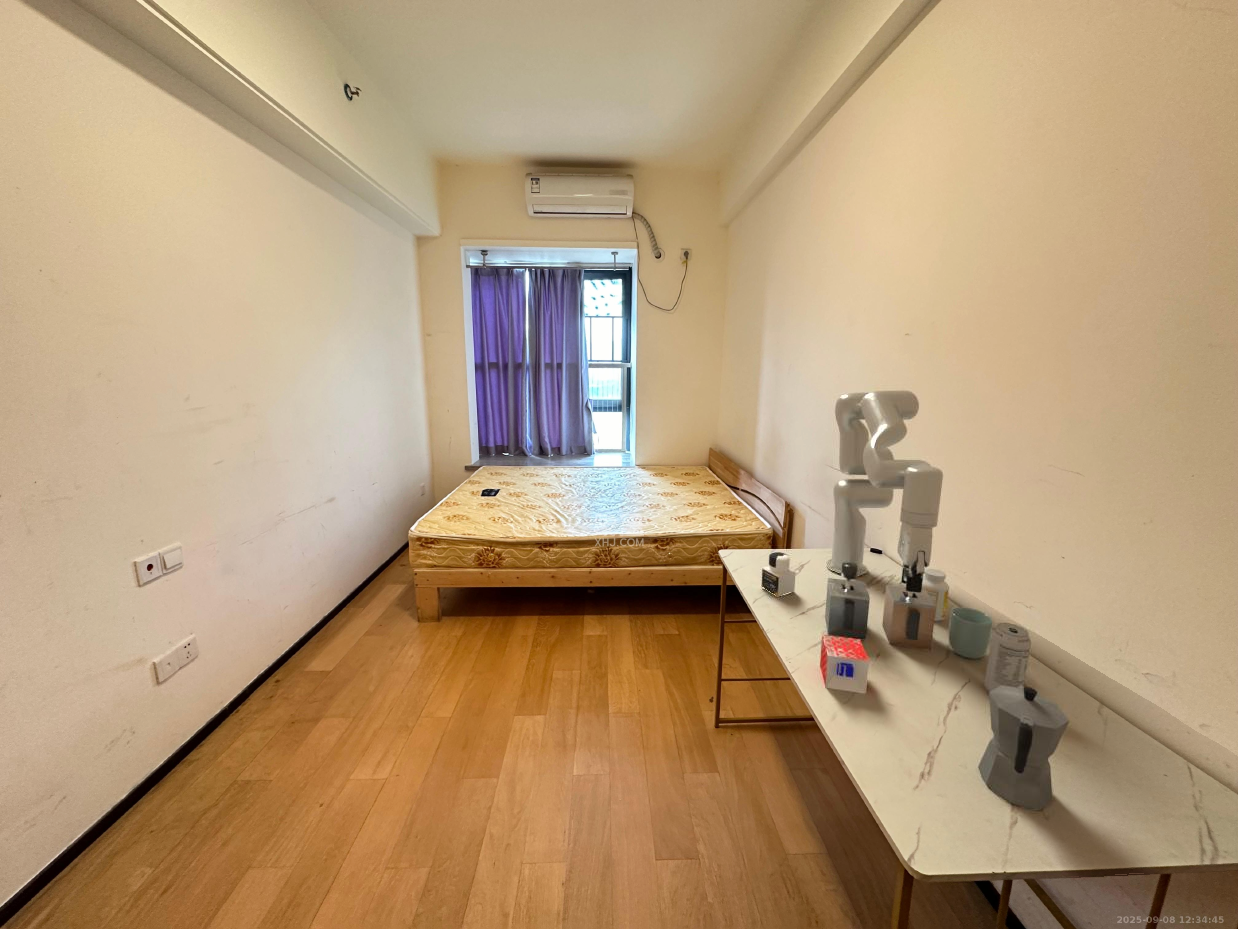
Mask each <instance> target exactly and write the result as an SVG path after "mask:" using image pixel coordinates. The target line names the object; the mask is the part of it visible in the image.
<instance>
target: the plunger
mask: <svg viewBox="0 0 1238 929" xmlns="http://www.w3.org/2000/svg"><path fill="white" fill-rule="evenodd" d="M857 568H858V566H857V565H856V564H854V563H850V562H844V563H842V570H841V574H840V575H841V577H842V578H844V579H845V580H846V589H847V590H850V582H851V581H852V580H856V579H857V578H858V576H857Z"/></svg>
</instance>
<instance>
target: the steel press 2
mask: <svg viewBox="0 0 1238 929" xmlns="http://www.w3.org/2000/svg"><path fill="white" fill-rule="evenodd" d="M935 612H936V605H935V603H934V602H933V600H932V599H931V597H930V596H929V594H928V592H927V591H926V589H922V590H921V593H918V592H913V595H912V598H911V597H908V591H906V586H898V585H891V584H889V585H888V584H886V585H885V597H884V606H883V614H882V623H881V624H882V625H881V626H882V629H883V631H884V634H885V636H886V639H887V641H888V644H889V645H892V646H893V645H894V646H898V647H905V648H911V649H919V650H923V651H924V650H925V651H931V650H932V644H933V643H932V642H933V635H934V626H935V621H934V620H935Z"/></svg>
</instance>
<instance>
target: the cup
mask: <svg viewBox="0 0 1238 929" xmlns="http://www.w3.org/2000/svg"><path fill="white" fill-rule="evenodd" d="M949 614H950V615H949V620H948V632H947V633H948V634H947V636H948V637H947V638H948V644H949V647H950V648H951V649H952V650H953V651H954V652H955V653H956V654H958V655H959V656H961V657H964V658H967V659H980V658H982V657H984V656H985V654H987V651H988V649H989V648H990V644H991V638H992V632H993V624H994V621H993V619H992V617H990V615H989V614H987V613H985V612H983V611H981V610H978V609H975V608H971V607H964V606H960V607H959V606H957V607H953V608H951V610H950V613H949Z"/></svg>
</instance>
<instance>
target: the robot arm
mask: <svg viewBox="0 0 1238 929" xmlns="http://www.w3.org/2000/svg"><path fill="white" fill-rule="evenodd" d="M834 407H835V408H834V414H835V420H836V424H837V427H838V431H839V449H838V450H839V456H838V457H839V458H838V460H839V461H838V463H839V464H838V465H839V469H840V471H841V472H842V473H843V474H845V475H850V476H867V479H864V478H846V479H841V480H839V481H837V482H836V483H835V484H834V486H833V501H834V523H833V538H832V539H833V540H832V551H831V552H832V553H831V559H828V560H827V561H826V564H827V566H828V567H829V568H830V569H832V570H834V571H835V572H838V573H841V570H842V563H844V562H850V563H854V564H856V565H857V566H858V568H857V577H859V576H858V575H862V576H864V575H863V574H865V573H866V574H867V573H868V567H867V566H866V565H865V564H864V556H865V555H864V554H865V553H864V552H865V541H866V532H867V520H866V518H865V516H864V514H863V513H862V512H861V511H860V509H885V508H889V507H890V505H891V504H892V502H893V499H894V490H902V498H901V508H900V517H899V522H900V523H901V524H900V530H899V538H898V544H897V554H898V556H899V558H900V559H901V561H902V562H903V563H902V570H901V571H902V572H901V583H902V584H905V587H906V591H909V592H918V593H921V590H922V582H923V578H924V575H925V570H926V568H928V567H929V566H930V563H931V557H932V547H933V546H932V545H933V528H936V527H937V526H938V520H939V514H940V504H941V497H942V496H941V494H942V489H943V488H942V487H943V479H944V474H943V471H942V470H941V469H940V468H938V467H935V466H932V465H931V464H930V463H929V462H927V461H925V460H921V459H895V458H894V455H893V452H892V451H891V449H889V448H890V447H892V446H894V445H896V444H898V443H900V442H901V441H902V440H903V439H904V438H905V437H906V436H907V433H908V428H907V426H906V424H905V421H906V420H907V421H908V420H911V419H914V418H915V417H916V416H917V415H918V412H919V410H920V409H919V408H920V403H919V398H917V395H916V394H915V393H914V392H912V391H910V390H904V389H903V390H875V391H871V392H852V393H846V394H843V395H841V396H839V397H838V399H836V403H835V406H834ZM862 420H865V423H866V425H865V424H864V423H863V422H862ZM869 432H870V433H869ZM870 434H871V437H870ZM827 566H826V567H827ZM905 566H909V575H907V581H905V580H904V579H903V576H904V567H905ZM913 567H917V569H914V570H913ZM835 572H834V573H835ZM866 574H865V575H866Z"/></svg>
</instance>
